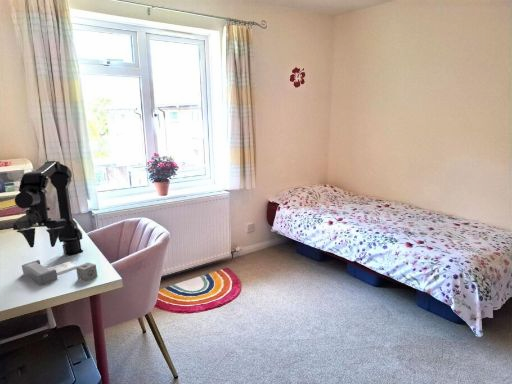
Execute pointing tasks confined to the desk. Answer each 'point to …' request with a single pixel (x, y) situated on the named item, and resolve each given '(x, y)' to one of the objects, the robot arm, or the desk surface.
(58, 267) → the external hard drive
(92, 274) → the dice cube
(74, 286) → the desk surface
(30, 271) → the dock
